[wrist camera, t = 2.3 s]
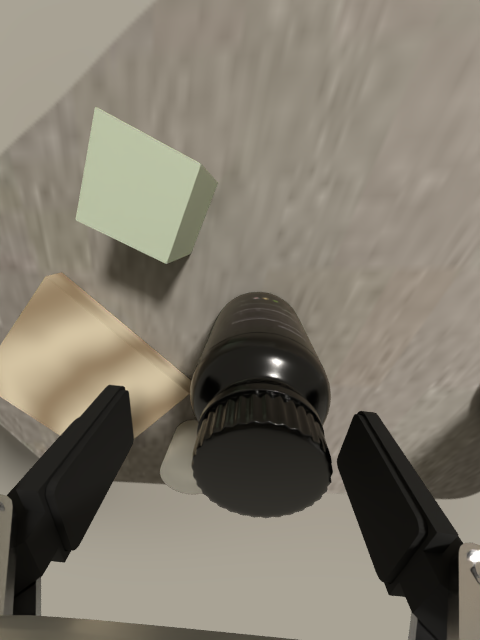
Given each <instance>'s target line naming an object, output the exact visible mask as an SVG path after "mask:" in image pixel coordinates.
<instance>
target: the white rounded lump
mask: <svg viewBox="0 0 480 640" xmlns="http://www.w3.org/2000/svg"><path fill="white" fill-rule="evenodd" d="M197 427H198V422H197V420H189V421H185V422H183V423H181V424H180V425H179V426H178V427H177V428H176V430H175V433H174V435H173V438H172V440H171V443H170V445H169V448H168V450H167V453H166V455H165V458H164V460H163V463H162V465H161V468H160V476H161V478H162V480H163V481H164V483H165V484H166V485H168V486H169V487H170V488H172V489H174V490H176V491H178V492H181V493H185V494H201V493H202V490H201V489H200V488H199V487H198V486H197V484H196V482H197V481H196V480H195V479H194V477H193V470H192V467H191V465H192V459H193V450H194V446H195V442H196V439H197Z"/></svg>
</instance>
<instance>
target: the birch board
mask: <svg viewBox="0 0 480 640" xmlns="http://www.w3.org/2000/svg"><path fill="white" fill-rule="evenodd" d="M108 385H117V386H124V387H125V390H128V391H129V397H130V406H131V415H132V424H133V434H134V439H135V438H136V437H137V436H138V435H140V434H141V433H142V432H143V431H144V430H146V429H147V428H148V427H149V426H151V425H152V424H153V423H154V422H155V421H157V420H158V419H159V418H160V417H162V416H163V415H164V414H165V413H167V412H168V411H169V410H170V409H171V408H173V407H174V406H175V405H176V404H178V403H179V402H180V401H181V400H182V399H184V398H185V397H186V396H187V395H189V394H190V387H191V380H190V379H189V378H188V377H186V376H185V375H184V374H183V373H182V372H180V371H179V370H178V369H177V368H176V367H174V366H173V365H172V364H171V363H170V362H168V361H167V360H166V359H165V358H164V357H162V356H161V355H160V354H159V353H158V352H156V351H155V350H154V349H153V348H152V347H150V346H149V345H148V344H147V343H146V342H144V341H143V340H142V339H141V338H140V337H138V336H137V335H136V334H135V333H134V332H132V331H131V330H130V329H129V328H128V327H126V326H125V325H124V324H123V323H122V322H121V321H119V320H118V319H117V318H116V317H115V316H113V315H112V314H111V313H110V312H109V311H107V310H106V309H105V308H104V307H103V306H101V305H100V304H99V303H98V302H97V301H95V300H94V299H93V298H92V297H91V296H89V295H88V294H87V293H86V292H85V291H83V290H82V289H81V288H80V287H79V286H77V285H76V284H75V283H74V282H73V281H71V280H70V279H69V278H68V277H67V276H65V275H64V274H63V273H58V274H54V275H50V276H46V277H45V278H44V280H43V281H42V283H41V284H40V286H39V287H38V289H37V290H36V292H35V293H34V295H33V296H32V298H31V300H30V301H29V303H28V304H27V306H26V307H25V309H24V310H23V312H22V313H21V315H20V316H19V318H18V319H17V321H16V322H15V324H14V325H13V327H12V328H11V330H10V331H9V333H8V334H7V336H6V338H5V339H4V341H3V342H2V344H1V345H0V397H2V398H3V399H5V400H6V401H8V402H9V403H11V404H13V405H14V406H16V407H17V408H19V409H20V410H22V411H23V412H25V413H26V414H28V415H29V416H31V417H33V418H34V419H36V420H37V421H39V422H40V423H42V424H43V425H45V426H46V427H48V428H49V429H51V430H53V431H54V432H56V433H57V434H59V435H61V434H62V433H63V432H64V431H65V430H66V429H67V428H68V426H69V425H70V424H71V423H72V422H73V421H74V420H75V419H77V418H79V417H80V416H81V415H82V414H83V413H84V411H85V410H86V409H87V408H88V407H89V406H90V405H91V403H92V402H93V401H94V400H95V399H96V398H97V397H98V396H99V394H100V393H101V392H102V391H103V390H104V389H105V388H106V387H107V386H108Z"/></svg>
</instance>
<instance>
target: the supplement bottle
mask: <svg viewBox="0 0 480 640" xmlns="http://www.w3.org/2000/svg"><path fill="white" fill-rule="evenodd" d="M330 400H331V392H330V385H329V381H328V378H327V375H326V373H325V371H324V368H323V366H322V364H321V362H320V360H319V358H318V356H317V354H316V352H315V350H314V348H313V346H312V344H311V342H310V340H309V338H308V336H307V334H306V332H305V330H304V328H303V326H302V324H301V322H300V320H299V318H298V316H297V314H296V313H295V311H294V310H293V308H292V307H291V306H290V305H289V304H288V303H287V302H286V301H284V300H283V299H281V298H280V297H278V296H275V295H273V294H269V293H264V292H251V293H246V294H243V295H240V296H238V297H236V298H234V299H233V300H231V301H230V302H229V303H228V304H227V305H226V306H225V307H224V308H223V309H222V311H221V312H220V314H219V316H218V318H217V320H216V322H215V324H214V327H213V329H212V331H211V334H210V336H209V339H208V341H207V343H206V346H205V348H204V350H203V353H202V355H201V357H200V360H199V362H198V364H197V367H196V369H195V372H194V375H193V378H192V381H191V387H190V401H191V406H192V410H193V413H194V416H195V418H196V420H197V422H198V427H197V439H196V442H195V446H194V450H193V459H192V465H191V467H192V470H193V477H194V479H195V480H196V481H197V482H196V484H197V486H198V487H199V488H200V489H201V490H202V493H203V494H204V495H206V496H207V497H208V498H209V499H210V501H212V502H214V503H217V505H218V506H220V507H222V508H226V509H227V510H229V511H230V512H235V513H238V514H240V515H247V516H251V517H263V518H269V517H281V516H283V515H291V514H293V513H295V512H299V511H302V510H304V509H305V508H306V507H309V506H312V505H313V504H314V502H315V501H317V500H320V499H321V497H322V495H323V494H324V493H325V492H327V486H328V485H329V484H330V483H331V475H332V473H333V470H332V465H331V463H332V462H331V456H330V453H329V450H328V447H327V444H326V441H325V438H324V430H323V427H322V426H323V424H324V422H325V420H326V418H327V415H328V412H329V407H330Z"/></svg>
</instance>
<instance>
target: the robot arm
mask: <svg viewBox="0 0 480 640" xmlns="http://www.w3.org/2000/svg"><path fill="white" fill-rule="evenodd" d="M133 440H134V434H133V424H132V415H131V406H130V397H129V391H128V390H125V387H124V386H117V385H108V386H107V387H106V388H105V389H104V390H103V391H102V392H101V393H100V394H99V396H98V397H97V398H96V399H95V400H94V401H93V402H92V403H91V405H90V406H89V407H88V408H87V409H86V410H85V411H84V413H83V414H82V415H81V416H80V417H79V418H77V419H75V420H74V421H73V422H72V423H71V424H70V425H69V426H68V428H67V429H66V430H65V431H64V432H63V433H62V434H61V435H60V437H59V438H58V439H57V440H56V441H55V442H54V443H53V444H52V445H51V447H50V448H49V449H48V450H47V451H46V452H45V453H44V454H43V456H42V457H41V458H40V459H39V460H38V461H37V462H36V463H35V464H34V466H33V467H32V468H31V469H30V470H29V471H28V472H27V473H26V475H25V476H24V477H23V478H22V479H21V480H20V481H19V483H18V484H17V485H16V486H15V487H14V488H13V489H12V490H11V491H10V492H9V494H8V495H7V496H5V495H0V640H295V639H286V638H276V637H265V636H255V635H246V634H236V633H226V632H216V631H206V630H196V629H186V628H175V627H165V626H154V625H143V624H131V623H121V622H111V621H101V620H89V619H75V618H61V617H47V616H41V576H42V575H43V573H44V572H45V570H46V569H47V567H48V565H49V563H50V562H51V561H56V562H65V561H66V559H67V557H68V555H69V554H70V552H71V550H75V549H76V548H77V547H78V546H79V544H80V543H81V541H82V539H83V537H84V535H85V533H86V531H87V529H88V528H89V526H90V524H91V522H92V520H93V518H94V516H95V514H96V513H97V510H98V509H99V507H100V505H101V503H102V501H103V499H104V497H105V495H106V494H107V492H108V490H109V488H110V486H111V484H112V482H113V480H114V479H115V477H116V475H117V473H118V471H119V469H120V467H121V465H122V463H123V462H124V460H125V458H126V456H127V454H128V452H129V450H130V448H131V446H132V444H133ZM337 466H338V469H339V472H340V475H341V477H342V480H343V483H344V486H345V488H346V491H347V494H348V497H349V499H350V502H351V505H352V508H353V510H354V513H355V516H356V519H357V521H358V524H359V527H360V529H361V532H362V535H363V538H364V540H365V543H366V546H367V548H368V551H369V554H370V557H371V560H372V562H373V565H374V568H375V571H376V573H377V575H378V577H379V579H380V580H381V581H382V582H384V583H385V586H386V589H387V591H388V594H389V595H392V596H403V597H406V599H407V602H408V604H409V606H410V609H411V611H412V613H411V621H410V629H409V637H408V640H480V545H477V544H475V543H464V544H463V542H462V541H461V540H460V538H459V537H458V534H457V532H456V530H455V529H454V527H453V526H452V524H451V523H450V522H449V520H448V518H447V517H446V516H445V514H444V513H443V511H442V510H441V508H440V507H439V505H438V504H437V502H436V501H435V499H434V498H433V496H432V495H431V493H430V492H429V490H428V489H427V487H426V486H425V484H424V483H423V481H422V480H421V478H420V477H419V476H418V474H417V473H416V471H415V470H414V468H413V467H412V465H411V464H410V462H409V461H408V459H407V458H406V456H405V455H404V453H403V452H402V450H401V449H400V447H399V446H398V444H397V443H396V441H395V440H394V438H393V437H392V435H391V434H390V433H389V431H388V430H387V428H386V427H385V425H384V424H383V422H382V421H381V419H380V418H379V416H378V415H377V414H376V413H374V412H365V411H359V412H358V414H355V415H354V416H353V419H352V422H351V424H350V427H349V429H348V432H347V435H346V437H345V440H344V442H343V445H342V448H341V450H340V453H339V455H338V458H337Z"/></svg>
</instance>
